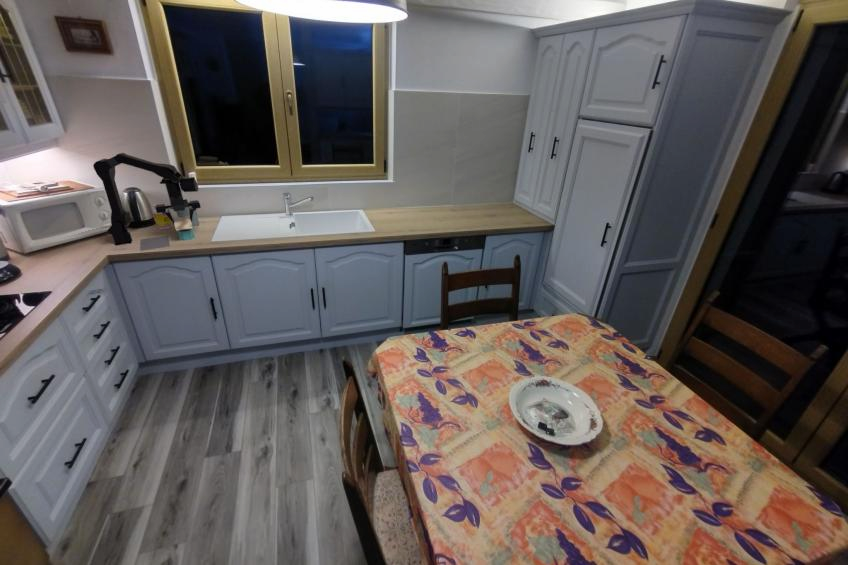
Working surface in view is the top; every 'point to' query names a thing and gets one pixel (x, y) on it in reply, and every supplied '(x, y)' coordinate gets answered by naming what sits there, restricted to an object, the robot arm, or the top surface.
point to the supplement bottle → (161, 219)
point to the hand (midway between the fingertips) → (182, 223)
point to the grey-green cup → (186, 213)
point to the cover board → (182, 222)
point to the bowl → (186, 234)
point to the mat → (154, 243)
